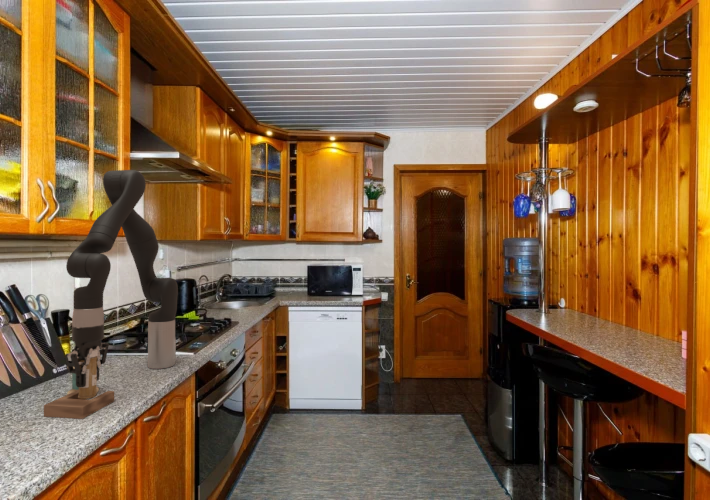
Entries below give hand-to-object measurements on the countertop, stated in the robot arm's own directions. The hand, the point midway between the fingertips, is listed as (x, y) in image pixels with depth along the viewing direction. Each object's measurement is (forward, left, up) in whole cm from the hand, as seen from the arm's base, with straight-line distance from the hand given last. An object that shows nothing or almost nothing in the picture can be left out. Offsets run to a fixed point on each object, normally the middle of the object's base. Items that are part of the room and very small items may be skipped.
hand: (87, 383), depth 115 cm
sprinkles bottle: (0, 0, -4) cm, 4 cm away
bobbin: (-9, -8, -6) cm, 13 cm away
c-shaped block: (+2, 0, -6) cm, 7 cm away
